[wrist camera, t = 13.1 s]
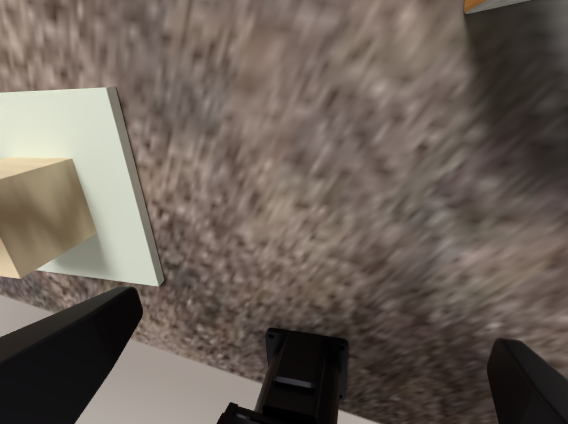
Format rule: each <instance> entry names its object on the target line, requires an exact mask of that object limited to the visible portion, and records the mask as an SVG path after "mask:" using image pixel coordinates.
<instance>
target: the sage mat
mask: <svg viewBox="0 0 568 424" xmlns="http://www.w3.org/2000/svg"><path fill="white" fill-rule="evenodd" d="M7 157H28V158H72V160H73V163H74V166H75V169H76V172H77V175H78V178H79V181H80V184H81V187H82V190H83V192H84V195H85V198H86V201H87V204H88V207H89V210H90V213H91V216H92V219H93V222H94V225H95V228H96V231H97V234H95V235H93V236H92V237H90V238H88V239H87V240H85V241H83V242H82V243H80V244H78V245H76V246H75V247H73V248H71V249H70V250H68V251H66V252H65V253H63V254H61V255H60V256H58V257H56V258H55V259H53V260H51V261H50V262H48V263H46V264H45V265H43V266H41V267H40V268H38V269H36V270H40V271H47V272H55V273H62V274H70V275H77V276H85V277H92V278H100V279H107V280H115V281H122V282H130V283H137V284H145V285H152V286H160V284H161V283H162V282H163V281H164V277H163V273H162V269H161V265H160V261H159V257H158V253H157V249H156V245H155V241H154V237H153V233H152V229H151V225H150V221H149V217H148V213H147V210H146V206H145V202H144V198H143V194H142V190H141V186H140V182H139V178H138V174H137V170H136V166H135V162H134V158H133V154H132V150H131V146H130V142H129V139H128V135H127V131H126V127H125V123H124V119H123V115H122V111H121V107H120V103H119V99H118V95H117V91H116V87H107V88H87V89H67V90H47V91H27V92H6V93H0V159H3V158H7Z"/></svg>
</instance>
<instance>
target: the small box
mask: <svg viewBox="0 0 568 424" xmlns="http://www.w3.org/2000/svg"><path fill="white" fill-rule="evenodd" d="M525 1H529V0H465V3H464V12H465V13H466V14H469V13H474V12H479V11H484V10H488V9H493V8H497V7H502V6H506V5H511V4H516V3H520V2H525Z"/></svg>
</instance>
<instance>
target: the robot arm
mask: <svg viewBox="0 0 568 424" xmlns="http://www.w3.org/2000/svg"><path fill="white" fill-rule="evenodd" d="M142 315H143V308H142V304H141V301H140V298H139V294H138V291H137V289H136V288H134V287H130V286H119V287H116V288H114V289H112V290H109V291H107V292H105V293H102V294H100V295H98V296H95V297H93V298H91V299H88V300H86V301H84V302H81V303H79V304H77V305H74V306H72V307H70V308H67V309H65V310H63V311H60V312H58V313H56V314H53V315H51V316H49V317H47V318H44V319H42V320H40V321H37V322H35V323H32V324H30V325H28V326H25V327H23V328H21V329H18V330H16V331H14V332H11V333H9V334H7V335H4V336H2V337H0V424H75V422H76V421H77V419H78V418H79V417H80V415H81V413H82V412H83V411H84V409H85V408H86V406H87V405H88V404H89V402H90V401H91V399H92V398H93V396H94V395H95V393H96V392H97V390H98V389H99V388H100V386H101V385H102V383H103V382H104V380H105V379H106V378H107V376H108V374H109V373H110V371H111V370H112V368H113V367H114V365H115V363H116V361H117V360H118V358H119V356H120V355H121V353H122V351H123V350H124V348H125V346H126V344H127V342H128V341H129V339H130V337H131V336H132V334H133V332H134V330H135V329H136V327H137V325H138V323H139V322H140V320H141V318H142ZM271 334H272V335H271ZM265 338H266V349H267V359H268V371H267V373H266V376H265V379H264V382H263V385H262V388H261V392H260V395H259V397H258V400H257V404H256V406H255V409H254V411H252V410H249V409H246V408H242V407H239V406H238V404H235V403H232V402H230V403H229V405H228V407H227V409H226V411H225V412H224V413H222V415H221V416H220V418H219V420H218V422H217V424H337V419H338V407H339V400H344V399H345V395H346V377H347V359H348V342H347V341H346V340H344V339H340V338H333V337H327V336H320V335H314V334H308V333H301V332H295V331H288V330H282V329H275V328H269V329H267V331H266V334H265ZM340 345H342V346H340ZM487 375H488V380H489V384H490V388H491V392H492V397H493V401H494V405H495V409H496V414H497V418H498V422H499V424H568V379H567V378H565V377H564V376H563V375H562V374H561V373H559V372H558V371H557V370H556V369H554V368H553V367H552V366H551V365H550V364H548V363H547V362H546V361H545V360H544V359H542V358H541V357H540V356H539V355H537V354H536V353H535V352H534V351H533V350H531V349H530V348H529V347H528V346H527V345H525V344H524V343H523V342H521V341H519V340H514V339H507V338H497V339H496V340H495V342H494V345H493V348H492V351H491V354H490V357H489V360H488V364H487Z"/></svg>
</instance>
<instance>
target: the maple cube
mask: <svg viewBox="0 0 568 424" xmlns="http://www.w3.org/2000/svg"><path fill="white" fill-rule="evenodd" d="M95 234H97V231H96V228H95V225H94V222H93V219H92V216H91V213H90V210H89V207H88V204H87V201H86V198H85V195H84V192H83V190H82V187H81V184H80V181H79V178H78V175H77V172H76V169H75V166H74V163H73V160H72V158H28V157H7V158H3V159H0V276H5V277H12V278H19V279H21V278H23V277H24V276H26V275H28V274H29V273H31V272H33V271H35V270H36V269H38V268H40V267H41V266H43V265H45V264H46V263H48V262H50V261H51V260H53V259H55V258H56V257H58V256H60V255H61V254H63V253H65V252H66V251H68V250H70V249H71V248H73V247H75V246H76V245H78V244H80V243H82V242H83V241H85V240H87V239H88V238H90V237H92V236H93V235H95Z"/></svg>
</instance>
